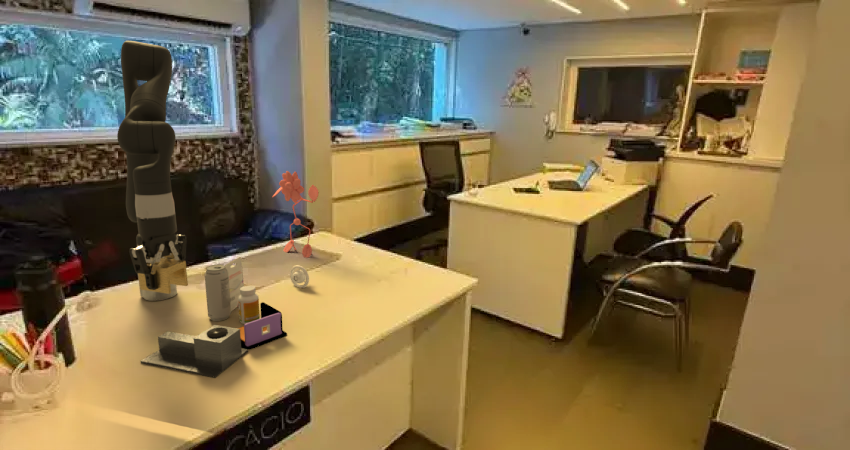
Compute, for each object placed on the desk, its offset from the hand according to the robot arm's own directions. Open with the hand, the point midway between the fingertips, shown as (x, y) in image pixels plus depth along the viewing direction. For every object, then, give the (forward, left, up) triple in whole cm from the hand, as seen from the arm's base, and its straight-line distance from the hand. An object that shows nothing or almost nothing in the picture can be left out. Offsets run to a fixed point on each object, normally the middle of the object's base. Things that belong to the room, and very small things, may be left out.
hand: (164, 284), depth 106 cm
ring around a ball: (+7, +49, -18) cm, 53 cm away
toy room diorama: (+13, +15, -19) cm, 27 cm away
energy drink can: (-3, +21, -18) cm, 28 cm away
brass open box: (0, 0, -1) cm, 1 cm away
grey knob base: (+6, +1, -18) cm, 19 cm away
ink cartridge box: (-5, +28, -18) cm, 34 cm away
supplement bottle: (+6, +22, -18) cm, 29 cm away
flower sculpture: (-11, +74, -18) cm, 77 cm away
